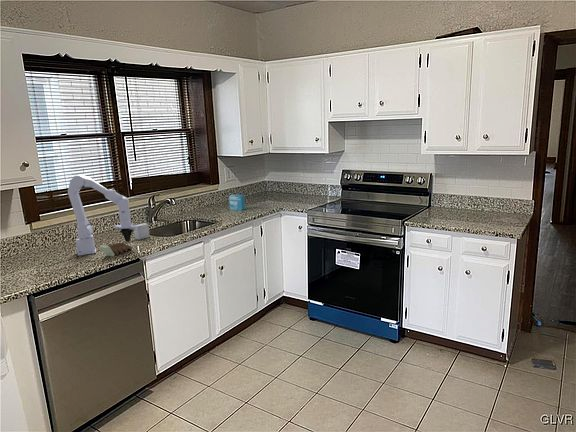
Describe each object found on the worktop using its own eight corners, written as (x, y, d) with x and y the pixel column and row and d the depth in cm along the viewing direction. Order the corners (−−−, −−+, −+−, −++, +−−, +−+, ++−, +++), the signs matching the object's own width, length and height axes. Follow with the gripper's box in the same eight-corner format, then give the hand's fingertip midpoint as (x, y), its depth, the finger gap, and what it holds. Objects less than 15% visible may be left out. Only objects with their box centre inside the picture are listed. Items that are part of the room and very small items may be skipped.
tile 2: (127, 251, 246) (118, 247, 240) (120, 250, 248) (111, 246, 242) (127, 248, 246) (119, 244, 240) (121, 247, 248) (112, 243, 242)
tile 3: (122, 253, 243) (114, 247, 237) (115, 252, 245) (107, 247, 239) (123, 250, 243) (115, 245, 238) (116, 249, 245) (108, 244, 240)
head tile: (131, 249, 249) (123, 246, 243) (124, 248, 251) (116, 245, 245) (132, 246, 249) (123, 243, 243) (125, 246, 251) (117, 242, 245)
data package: (229, 209, 354) (228, 195, 351) (232, 208, 358) (231, 194, 355) (242, 210, 348) (241, 195, 346) (245, 209, 352) (244, 194, 350)
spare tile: (113, 256, 237) (106, 247, 232) (106, 255, 238) (99, 247, 234) (114, 254, 238) (108, 245, 233) (107, 253, 240) (101, 244, 235)
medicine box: (145, 236, 279) (144, 223, 277) (149, 237, 276) (148, 223, 274) (134, 238, 273) (133, 225, 271) (138, 239, 270) (137, 226, 268)
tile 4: (117, 254, 240) (110, 248, 234) (110, 254, 242) (103, 247, 236) (119, 252, 240) (111, 245, 235) (112, 251, 242) (104, 244, 237)
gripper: (109, 219, 245) (112, 242, 248) (131, 220, 241) (134, 243, 244) (118, 216, 252) (121, 239, 255) (139, 217, 247) (141, 240, 250)
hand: (128, 241), depth 250 cm, fingers closed
